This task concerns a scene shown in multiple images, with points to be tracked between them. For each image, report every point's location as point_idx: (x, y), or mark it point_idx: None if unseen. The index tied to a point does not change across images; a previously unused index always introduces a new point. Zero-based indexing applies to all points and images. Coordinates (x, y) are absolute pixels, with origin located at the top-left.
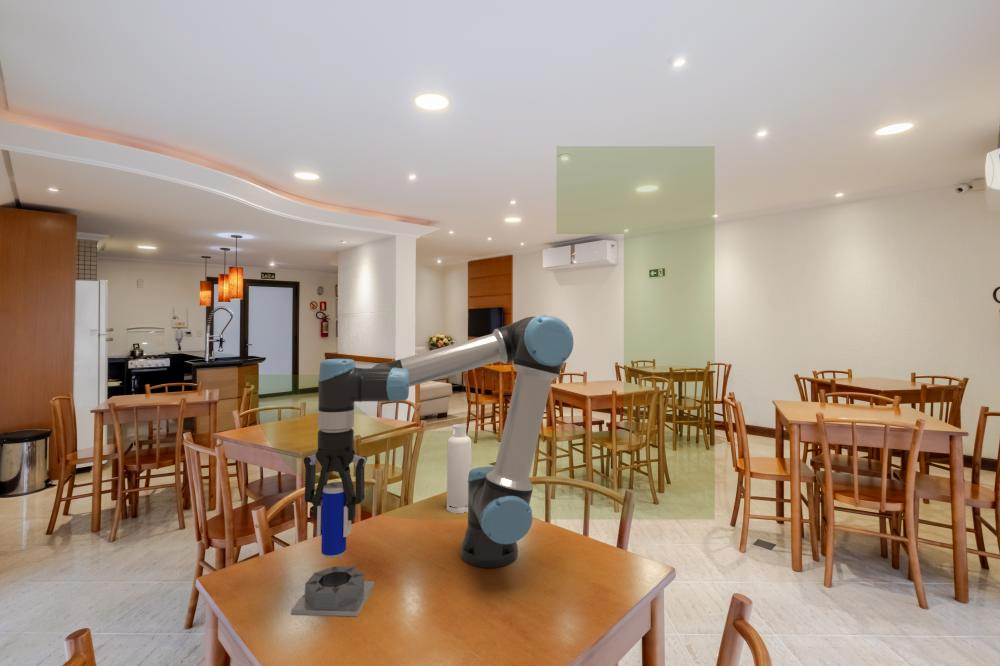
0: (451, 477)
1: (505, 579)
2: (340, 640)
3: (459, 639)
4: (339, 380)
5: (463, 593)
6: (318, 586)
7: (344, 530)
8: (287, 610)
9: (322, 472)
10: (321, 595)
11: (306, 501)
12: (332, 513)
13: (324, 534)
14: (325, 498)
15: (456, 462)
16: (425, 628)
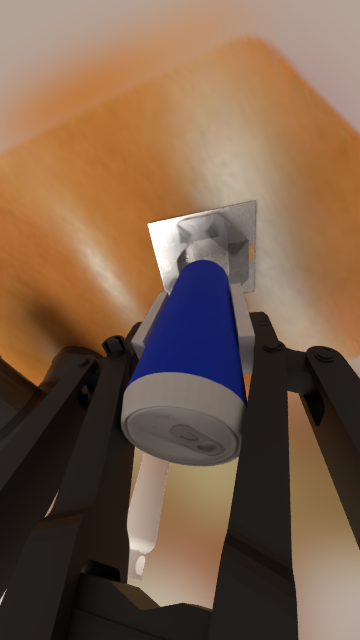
0: (156, 474)
1: (44, 330)
2: (137, 151)
3: (3, 206)
4: None
5: (63, 300)
6: (219, 238)
7: (161, 299)
8: (266, 211)
9: (264, 635)
10: (202, 216)
11: (324, 349)
12: (176, 309)
13: (212, 278)
14: (205, 352)
15: (143, 498)
16: (52, 219)
